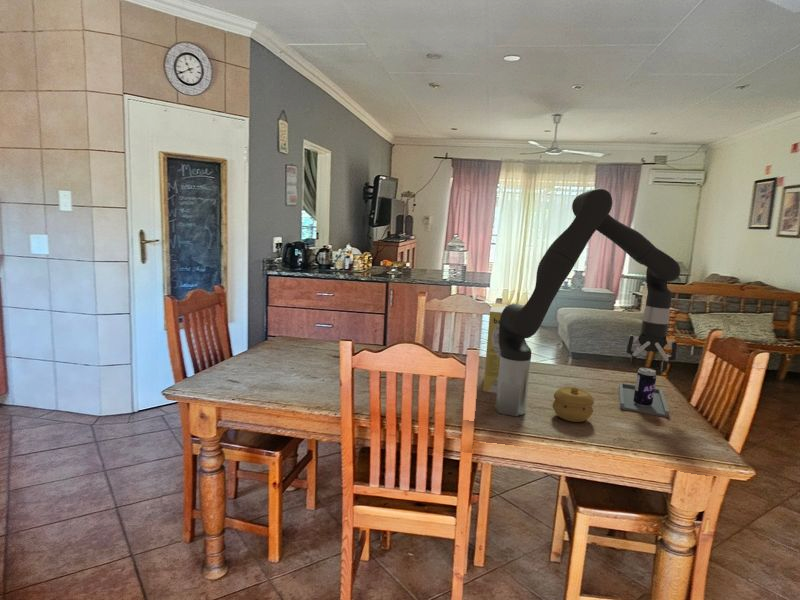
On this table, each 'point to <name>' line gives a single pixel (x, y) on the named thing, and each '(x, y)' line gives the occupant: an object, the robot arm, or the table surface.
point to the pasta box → (493, 349)
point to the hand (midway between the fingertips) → (648, 369)
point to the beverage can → (645, 387)
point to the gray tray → (628, 404)
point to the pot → (573, 404)
